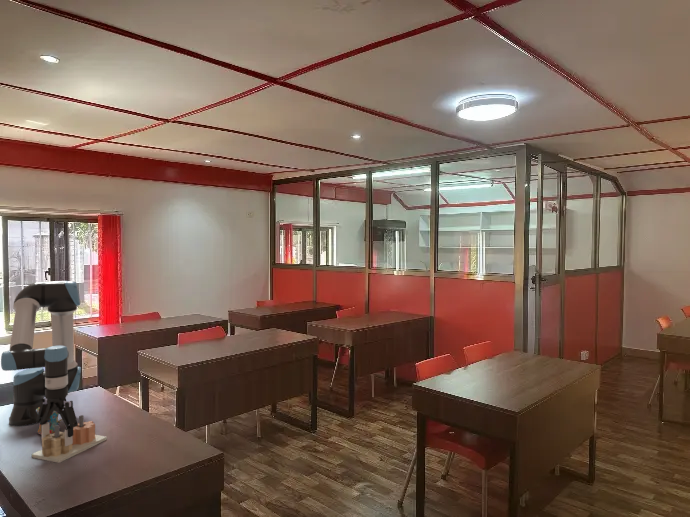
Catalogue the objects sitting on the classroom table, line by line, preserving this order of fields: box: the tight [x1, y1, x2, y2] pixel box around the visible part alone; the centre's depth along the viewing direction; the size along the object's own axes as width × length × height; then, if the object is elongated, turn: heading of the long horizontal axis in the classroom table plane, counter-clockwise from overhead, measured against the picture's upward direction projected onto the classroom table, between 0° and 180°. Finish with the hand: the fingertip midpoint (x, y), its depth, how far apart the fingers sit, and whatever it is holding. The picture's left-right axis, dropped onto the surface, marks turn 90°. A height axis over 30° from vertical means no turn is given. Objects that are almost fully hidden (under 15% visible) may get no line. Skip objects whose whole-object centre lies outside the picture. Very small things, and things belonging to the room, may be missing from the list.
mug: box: [36, 407, 64, 435], centre depth 201 cm, size 12×9×11 cm
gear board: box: [31, 414, 108, 464], centre depth 184 cm, size 14×22×11 cm, turn 162°
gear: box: [41, 431, 72, 457], centre depth 179 cm, size 10×10×6 cm
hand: (57, 442), depth 179 cm, fingers open, 11 cm apart
